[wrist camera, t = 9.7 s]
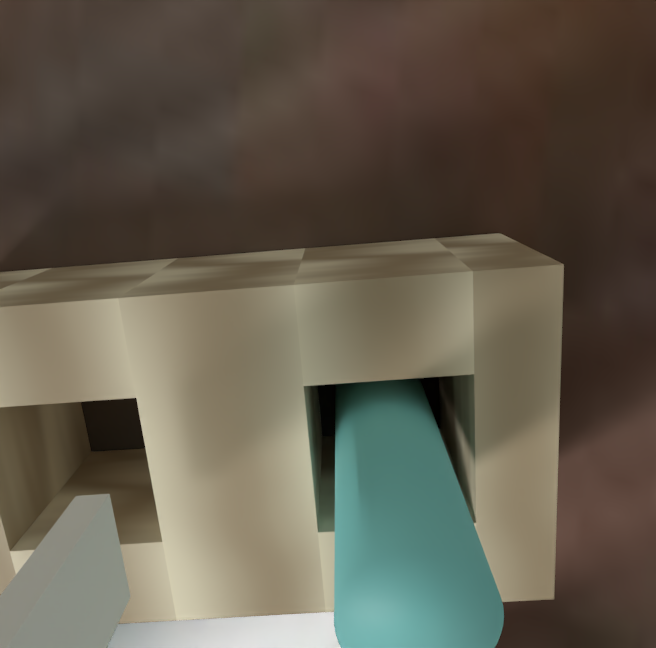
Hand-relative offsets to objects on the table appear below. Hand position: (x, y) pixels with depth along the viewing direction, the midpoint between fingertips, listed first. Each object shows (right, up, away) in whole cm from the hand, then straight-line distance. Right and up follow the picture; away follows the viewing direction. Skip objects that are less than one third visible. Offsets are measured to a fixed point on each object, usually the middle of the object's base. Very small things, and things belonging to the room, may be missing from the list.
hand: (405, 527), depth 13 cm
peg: (0, +3, +9) cm, 9 cm away
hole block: (-4, +2, +9) cm, 10 cm away
